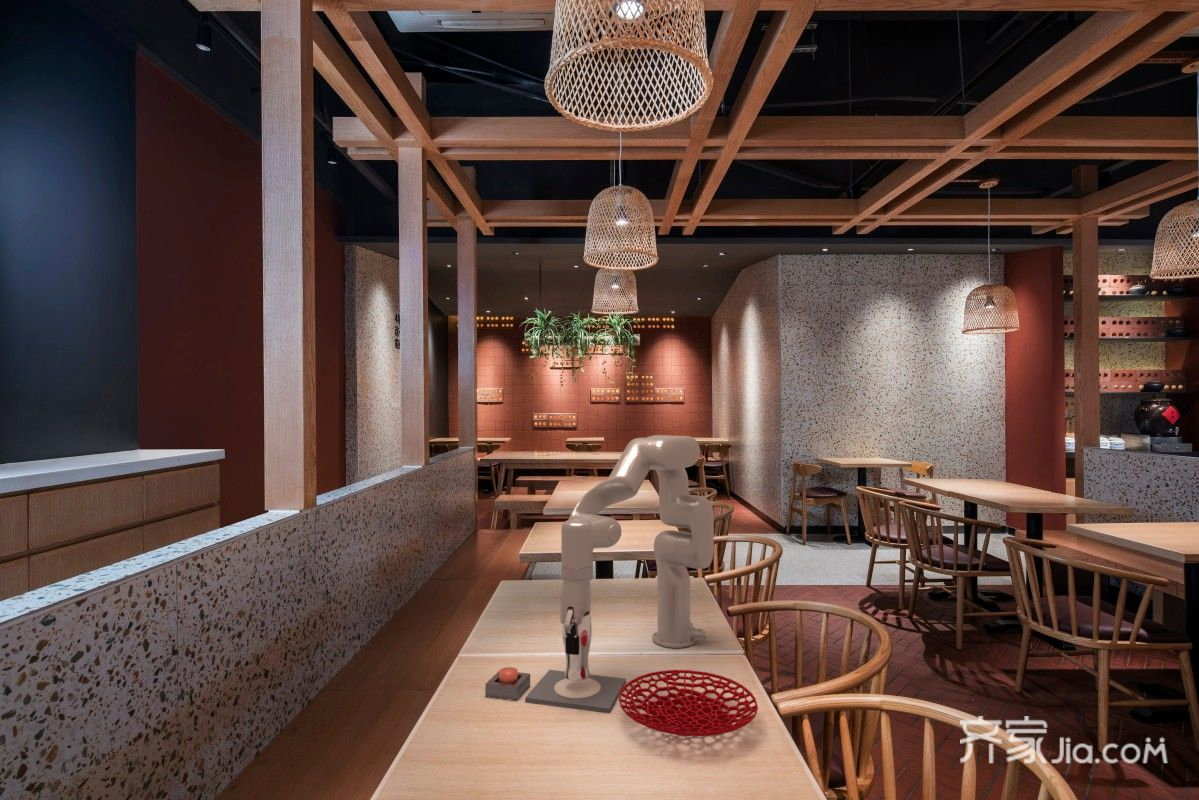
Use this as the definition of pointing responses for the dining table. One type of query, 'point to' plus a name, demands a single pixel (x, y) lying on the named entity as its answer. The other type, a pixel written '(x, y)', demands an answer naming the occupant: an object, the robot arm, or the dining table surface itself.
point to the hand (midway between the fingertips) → (577, 647)
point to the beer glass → (579, 663)
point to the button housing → (507, 687)
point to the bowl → (688, 704)
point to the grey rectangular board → (577, 692)
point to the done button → (508, 675)
